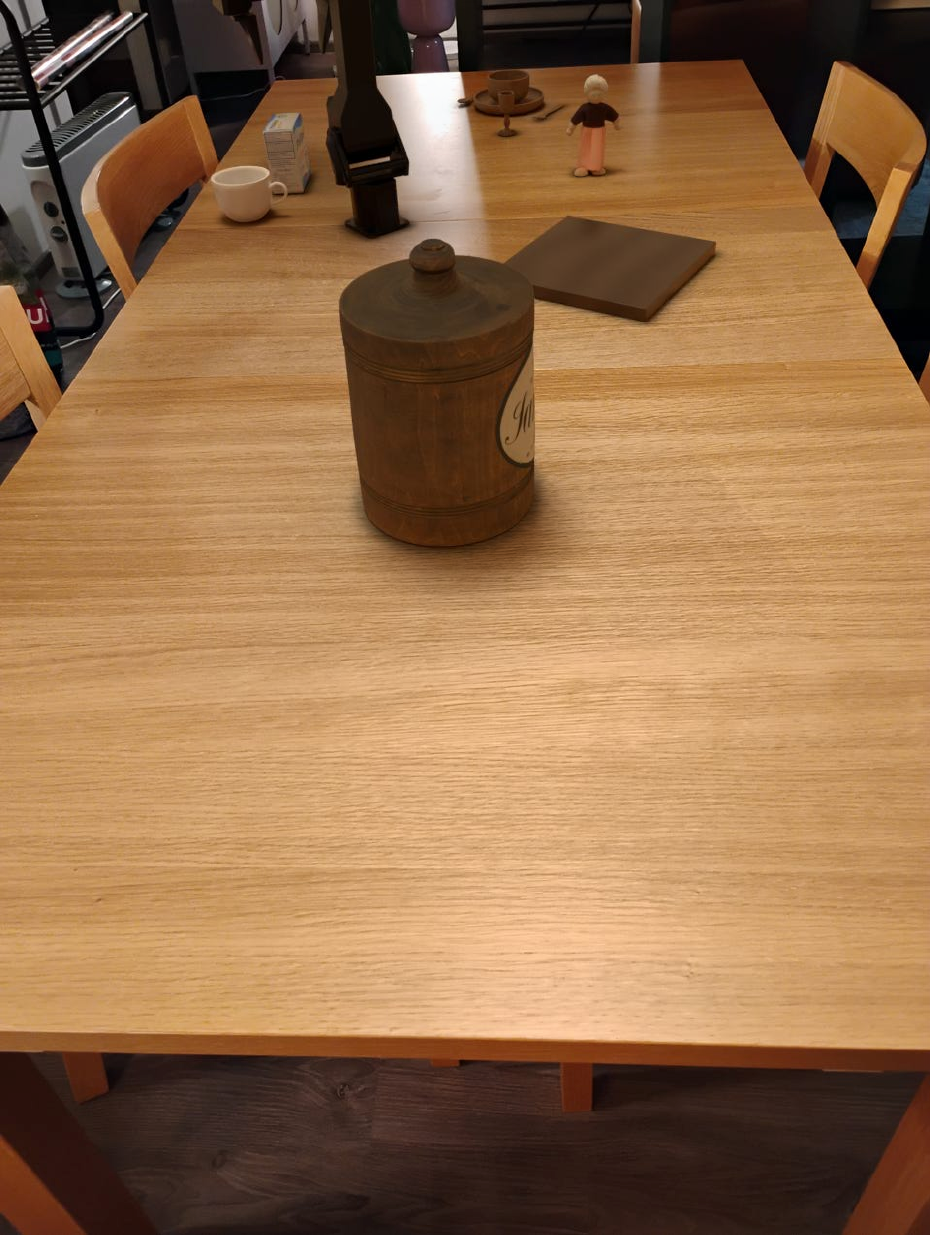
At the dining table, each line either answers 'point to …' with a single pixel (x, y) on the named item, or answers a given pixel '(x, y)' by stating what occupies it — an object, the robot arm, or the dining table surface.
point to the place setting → (508, 97)
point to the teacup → (245, 192)
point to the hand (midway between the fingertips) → (292, 58)
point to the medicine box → (287, 152)
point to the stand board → (610, 266)
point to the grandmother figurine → (593, 127)
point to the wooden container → (442, 394)
